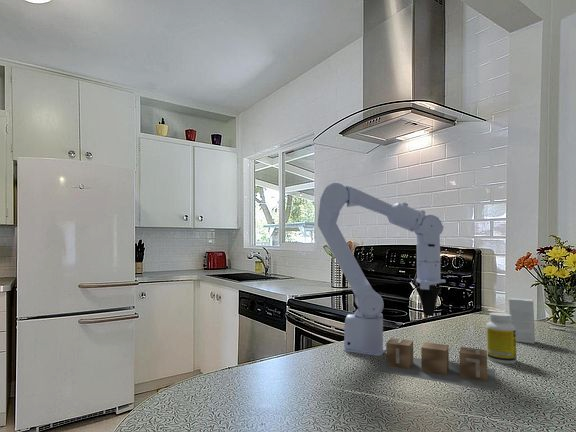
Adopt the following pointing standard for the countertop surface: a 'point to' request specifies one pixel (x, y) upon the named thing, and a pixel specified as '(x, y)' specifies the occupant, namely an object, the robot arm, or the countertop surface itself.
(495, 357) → the pill bottle
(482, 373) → the digit block 7
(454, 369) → the mat
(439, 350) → the plain block
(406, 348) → the digit block 1
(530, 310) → the skincare box
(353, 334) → the robot arm
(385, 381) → the countertop surface
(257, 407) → the countertop surface
